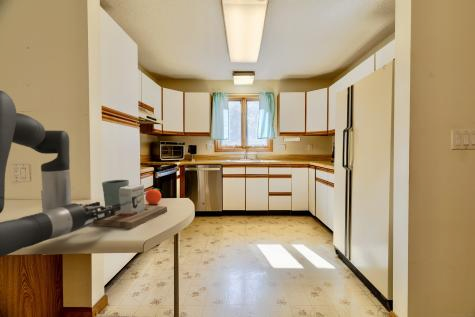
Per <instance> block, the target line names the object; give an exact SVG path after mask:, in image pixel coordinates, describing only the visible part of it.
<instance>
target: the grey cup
mask: <svg viewBox="0 0 475 317" xmlns="http://www.w3.org/2000/svg"><path fill="white" fill-rule="evenodd" d="M129 180H130V179H129ZM129 180H128V179H113V180H105V181H102V182H101V185H102V192H103V201H104V207H106V206H111V205H114V204H117V203H120V200H119V189H120V188H121V187H125V186H129V185H130V181H129Z"/></svg>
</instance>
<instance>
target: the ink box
mask: <svg viewBox="0 0 475 317" xmlns="http://www.w3.org/2000/svg"><path fill="white" fill-rule="evenodd" d="M144 187H145V185H143V184H129V186H125V187H121V188H120V189H119V200H120V204H121V210H120V216H124V217H131V216H134V215H136V214H138V213H141V212H143V211H145V205H146V203H145V189H144Z"/></svg>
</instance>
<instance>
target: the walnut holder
mask: <svg viewBox="0 0 475 317" xmlns="http://www.w3.org/2000/svg"><path fill="white" fill-rule="evenodd" d="M167 212H168V207H167V206H163V205H151V204H149V205H147V204H145V211H143V212H141V213H138V214H136V215H134V216H131V217H124V216H120V210H119V211H116V212H115V213H116V215H114V216H111V217H108V218H106V219H103V220H100V221H97V219H93V224H92V225H97V226H104V227H105V226H106V227H112V228H113V227H114V228H124V229H134V228H136V227H138V226H140V225H142V224H144V223H146V222H149V221H150V220H152V219H154V218H157V217H158V216H161V215H163V214H165V213H167Z"/></svg>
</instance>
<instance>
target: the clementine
mask: <svg viewBox="0 0 475 317" xmlns="http://www.w3.org/2000/svg"><path fill="white" fill-rule="evenodd" d="M160 190H161V189H159V188H151V189H149V190H147V192H146V193H145V194H144V200H145V201H146V202H147V203H148V204H149V205H155V204H158V203H159V202H160V201H161V200H162V193H161V191H160Z"/></svg>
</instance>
